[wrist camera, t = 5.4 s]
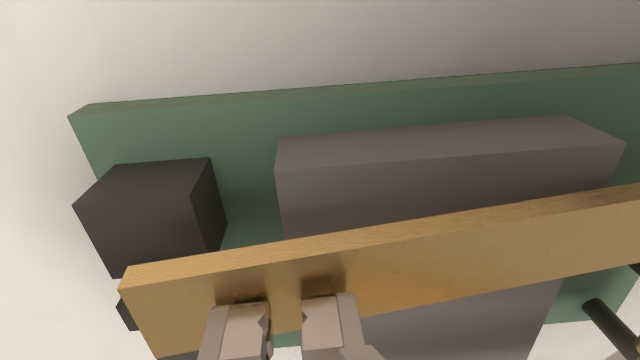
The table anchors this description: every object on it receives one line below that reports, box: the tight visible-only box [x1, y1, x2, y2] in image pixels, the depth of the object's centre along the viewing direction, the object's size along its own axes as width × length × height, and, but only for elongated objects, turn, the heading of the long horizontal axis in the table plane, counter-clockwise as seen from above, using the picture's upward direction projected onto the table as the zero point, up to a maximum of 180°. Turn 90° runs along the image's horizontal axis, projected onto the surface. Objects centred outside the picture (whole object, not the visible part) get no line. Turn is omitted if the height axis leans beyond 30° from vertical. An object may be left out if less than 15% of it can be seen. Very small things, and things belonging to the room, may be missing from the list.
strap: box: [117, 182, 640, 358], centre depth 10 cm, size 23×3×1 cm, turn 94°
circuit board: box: [67, 62, 640, 360], centre depth 15 cm, size 28×16×6 cm, turn 94°
